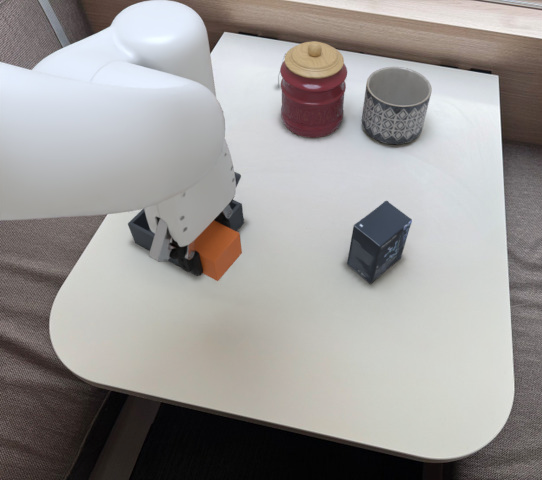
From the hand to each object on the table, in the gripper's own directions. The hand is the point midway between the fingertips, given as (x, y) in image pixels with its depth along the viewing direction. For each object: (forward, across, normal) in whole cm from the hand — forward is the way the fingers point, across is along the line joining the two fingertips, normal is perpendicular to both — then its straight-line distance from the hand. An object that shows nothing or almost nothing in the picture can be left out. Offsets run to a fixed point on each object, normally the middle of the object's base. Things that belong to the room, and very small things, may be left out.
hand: (206, 251), depth 64 cm
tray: (+19, -12, -16) cm, 28 cm away
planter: (+20, -56, +2) cm, 59 cm away
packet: (+1, 0, 0) cm, 1 cm away
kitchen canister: (+20, -49, -14) cm, 55 cm away
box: (+20, -23, +14) cm, 34 cm away
